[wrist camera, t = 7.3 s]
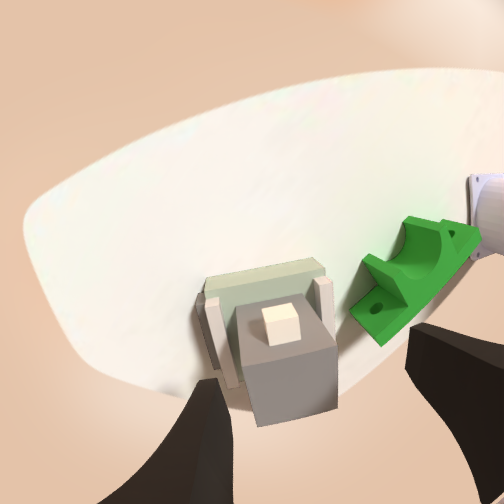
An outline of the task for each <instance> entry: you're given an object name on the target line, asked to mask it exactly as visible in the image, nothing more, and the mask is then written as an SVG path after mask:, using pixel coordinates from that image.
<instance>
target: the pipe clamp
mask: <svg viewBox="0 0 504 504" xmlns="http://www.w3.org/2000/svg"><path fill="white" fill-rule="evenodd" d="M403 223H404V226H405V230H406V239H405V243H404V246H403V248H402V250H401V252H400V253H399V254H398V255H397V256H396V257H395V258H394V259H392V260H390V261H386V262H385V261H383V260H381V259H379V258H377V257H375V256H373V255H371V254H368V255H367V256H366V257H365V258H364V259H363V260H362V261H363V262H364V264H365V265H366V267H367V269H368V270H369V272H370V273H371V275H372V276H373V278H374V280H375V281H376V283H377V284H378V285H377V286H376V287H375V288H373V289H372V290H371V291H370V292H369V293H368V294H367V295H366V296H365V297H363V298H362V299H361V300H360V301H359V302H358V303H357V304H355V305H354V306H353V307H352V308H351V309H349V311H350V312H351V314H352V315H353V317H354V318H355V319H356V320H357V321H358V323H359V324H360V325H361V326H362V327H363V328H364V329H365V330H366V331H367V332H368V333H369V334H370V336H371V337H372V338H373V339H374V340H375V341H376V342H377V343H378V344H379V345H380V346H381V347H382V346H383V345H384V344H386V343H387V342H388V341H389V340H390V339H391V338H392V337H393V336H395V335H396V334H397V333H398V332H399V331H400V330H401V329H402V328H403V327H404V326H405V325H406V324H407V323H409V322H410V321H411V320H412V319H413V318H414V317H415V316H416V315H417V314H418V313H419V312H420V311H421V310H422V309H423V308H424V307H425V306H426V305H427V304H428V303H429V302H430V301H431V300H432V298H433V297H434V296H435V295H436V294H437V293H438V292H439V291H440V290H441V289H442V288H443V287H444V285H445V284H446V283H447V282H448V281H449V280H450V279H451V278H452V276H453V275H454V274H455V273H456V272H457V271H458V269H459V268H460V267H461V266H462V265H463V263H464V262H465V261H466V260H467V258H468V257H469V256H470V255H471V253H472V252H473V251H474V250H475V248H476V247H477V246H478V244H479V243H480V242H481V240H482V237H481V234H480V231H479V228H478V227H474V226H470V225H466V224H462V223H458V222H453V221H449V220H444V219H442V220H441V222H440V223H438V222H434V221H430V220H425V219H421V218H416V217H412V216H408V217H407V218H406V219H405V220H404V221H403Z"/></svg>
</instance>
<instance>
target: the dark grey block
mask: <svg viewBox="0 0 504 504" xmlns="http://www.w3.org/2000/svg"><path fill="white" fill-rule="evenodd" d="M236 316H237V326H238V337H239V347H240V357H241V366H242V371H243V375H244V379H245V382H246V386H247V390H248V394H249V398H250V402H251V406H252V409H253V413H254V416H255V420H256V424H257V427H262V426H267V425H272V424H278V423H282V422H287V421H291V420H296V419H300V418H304V417H308V416H312V415H315V414H319V413H323V412H327V411H330V410H333V409H336V408H338V345H337V343H336V342H335V340H334V339H333V337H332V336H331V335H330V333H329V332H328V330H327V329H326V327H325V326H324V324H323V323H322V321H321V320H320V318H319V317H318V316H317V314H316V313H315V311H314V310H313V308H312V307H311V305H310V304H309V303H308V301H307V300H306V298H305V297H304V295H303V294H302V293H299V294H294V295H289V296H285V297H280V298H275V299H270V300H265V301H260V302H255V303H250V304H244V305H239V306H236Z"/></svg>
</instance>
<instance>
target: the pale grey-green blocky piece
mask: <svg viewBox="0 0 504 504" xmlns="http://www.w3.org/2000/svg"><path fill="white" fill-rule="evenodd" d="M299 293H302V294H303V295H304V297H305V298H306V300H307V301H308V303H309V304H310V305H311V307H312V308H313V310H314V311H315V313H316V314H317V316H318V317H319V318H320V320H321V321H322V323H323V324H324V326H325V327H326V329H327V330H328V332H329V333H330V335H331V336H332V337H333V339H334V340H335V342H336V333H335V311H334V294H333V282H332V281H331V280H330V279H329V278H328V277H327V276H326V274H325V267H323V266H322V265H321V264H320V263H319V262H318V261H316V260H315V259H314V258H313V257H312V258H307V259H302V260H297V261H291V262H286V263H281V264H276V265H271V266H266V267H260V268H255V269H250V270H245V271H239V272H234V273H229V274H223V275H218V276H212V277H207V278H206V283H205V289H204V293H198V297H197V301H196V309H197V313H198V317H199V320H200V324H201V328H202V331H203V335H204V338H205V342H206V345H207V348H208V352H209V355H210V358H211V362H212V365H213V368H214V370H216V369H222V373H223V376H224V379H225V382H226V386H227V389H232V388H238V387H240V384H239V381H245V379H244V375H243V371H242V366H241V357H240V347H239V337H238V326H237V316H236V306H239V305H244V304H250V303H255V302H260V301H265V300H270V299H275V298H280V297H285V296H289V295H294V294H299Z"/></svg>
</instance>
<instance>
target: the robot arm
mask: <svg viewBox="0 0 504 504" xmlns="http://www.w3.org/2000/svg"><path fill="white" fill-rule="evenodd" d="M469 186H470V204H471V226H474V227H478V228H479V231H480V234H481V237H482V240H481V242H480V243H479V244H478V246H477V247H476V248H475V250H474V251H473V252H472V253H471V255H470V259H471V260H473V261H475V260H478V259H481V258H483V257H486V256H489V255H491V254H494V253H498V254H501V255H504V173H487V174H471V175H470V176H469ZM405 370H406V371H407V373H408V375H409V377H410V378H411V380H412V382H413V383H414V385H415V386H416V388H417V389H418V390H419V391H420V393H421V394H422V395H423V396H424V398H425V399H426V400H427V401H428V403H429V404H430V405H431V406H432V407H433V409H434V410H435V411H436V412H437V413H438V415H439V416H440V417H441V418H442V420H443V421H444V422H445V423H446V425H447V426H448V428H449V429H450V431H451V432H452V434H453V436H454V437H455V439H456V441H457V442H458V444H459V446H460V448H461V450H462V452H463V454H464V456H465V458H466V460H467V462H468V465H469V467H470V469H471V472H472V475H473V477H474V480H475V484H476V487H477V490H478V494H479V498H480V502H481V503H482V504H490V503H492V502H493V501H494V500H495V499H497V498H498V497H499V496H500V495H501V494H502V493H503V492H504V345H502V344H497V343H492V342H488V341H484V340H480V339H476V338H473V337H470V336H466V335H463V334H459V333H457V332H453V331H450V330H447V329H444V328H441V327H438V326H434V325H430V324H427V323H419V324H417V325H414V326H412V327H410V332H409V341H408V349H407V357H406V364H405ZM98 504H234V503H233V434H232V426H231V417H230V414H229V411H228V408H227V405H226V403H225V400H224V397H223V394H222V391H221V388H220V385H219V382H218V379H217V378H212V379H205V380H199V382H198V383H197V385H196V387H195V389H194V391H193V393H192V395H191V396H190V398H189V400H188V402H187V404H186V406H185V407H184V409H183V411H182V413H181V414H180V416H179V418H178V419H177V421H176V423H175V424H174V426H173V427H172V429H171V430H170V432H169V433H168V434H167V436H166V437H165V439H164V440H163V442H162V443H161V444H160V446H159V447H158V448H157V450H156V451H155V452H154V453H153V454H152V456H151V457H150V458H149V459H148V460H147V461H146V463H145V464H144V465H143V466H142V467H141V468H140V469H139V470H138V471H137V472H136V473H135V474H134V475H133V476H132V477H131V478H130V479H129V480H128V481H126V482H125V483H124V484H123V485H122V486H121V487H120V488H118V489H117V490H116V491H114V492H113V493H112V494H110V495H109V496H108V497H107V498H105V499H103V500H102V501H101V502H99V503H98ZM497 504H504V498H503V499H501V500H500V501H499V502H498V503H497Z"/></svg>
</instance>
